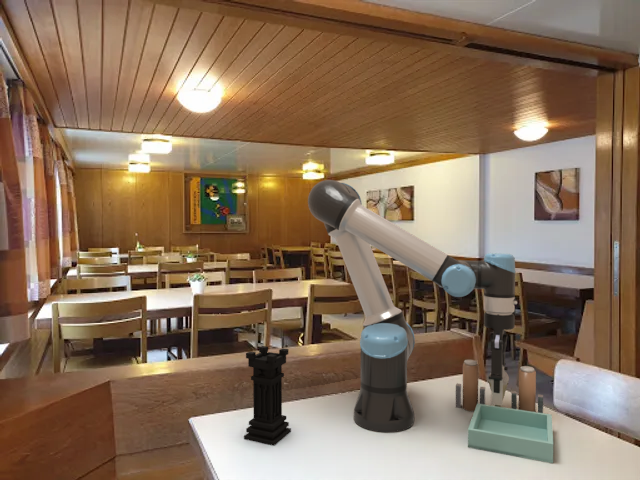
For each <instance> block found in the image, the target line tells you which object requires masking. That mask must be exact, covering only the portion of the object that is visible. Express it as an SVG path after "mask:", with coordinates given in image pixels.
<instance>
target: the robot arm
mask: <svg viewBox="0 0 640 480" xmlns="http://www.w3.org/2000/svg"><path fill="white" fill-rule="evenodd" d="M307 205H308V209H309V211H310V213H311V215H312V216H313V217H314V218H315V219H317V220H318V221H320V222H321V223H323V224H324V227H325V229H326V232H327V235H328V236H330V237H332V238H334V239H335V241H336V244H337V246H338V249H339V251H340V253H341V256H342V260H343V262H344V264H345V266H346V269H347V272H348V274H349V278H350V281H351V282H352V286H353V287H354V290H355V293H356V295H357V298H358V301H359V303H360V306H361V308H362V312H363V313H364V317H365V319H364V321H363V323H362V326H363V329H362V331H361V333H360V339H359V346H360V389H359V391H358V395H357V399H356V401H355V405H354V408H353V420H354V422H355V423H356V424H357V425H358V426H359V427H361V428H363V429H366V430H370V431H373V432H381V433H392V432H393V433H394V432H400V431H404V430H407V429H409V428H411V427H412V426H413V425H414V422H415V417H414V416H415V413H414V409H413V406H412V403H411V399H410V396H409V393H408V388H407V387H408V360H409V358H410V356H411V355H412V353H413V350H414V347H415V343H416V341H415V340H416V338H415V333H414V330H413V329H412V327H411V326H410V324H409V323H408V322H407V321H406V318H405V316H404V313H403V311H402V309H400V308H398V307H396V306H395V305H394V302H393V300H392V298H391V294H390V293H389V290H388V287H387V285H386V282H385V280H384V279H385V278H384V277H383V275H382V272H381V269H380V267H379V265H378V262H377V259H376V257H375V254H374V252H373V248H375V249H378V251H380V252H383V253H384V254H385V255H387V256H389V257H391V258H393V259H394V260H396V261H398V262H399V263H401V264H403V266H406V267H407V268H409V269H411V270H413V271H415V272H416V273H418V274H419V275H421V276H423V277H424V278H426V279H428V280H429V281H432V282H433V283H434V284H436V285H438V287H439V288H443V290H444V291H445V292H446V293H447V294H448V295H450V296H452V297H456V298H460V297H465V296H467V295H469V294H470V293H471V292H472V291H473V290H475V289H476V290H483V291H484V292H483V293H484V294H483V311H485V312H484V313H483V325H484V327H485V328H488V329H492V330H493V332H491V333H490V336H489V337H490V338H489V340H490V352H491V361H490V363H491V364H490V374H491V377H490V376H489V375H488V377H487V378H488V380H489V379H491V389H490V405H492V406H495V405H500V406H501V407H503V402H504V401H503V400H504V398H503V377H502V367H503V366H504V370H505V372H507V371H508V368H509V367H508V366H506V363H507V362H506V350H507V341H508V334H507V330H508V331H510V330H513V329H514V328H515V324H516V323H515V322H516V321H515V314H514V312H515V305H517V304H518V300H515V298H516V297H515V296H516V259H515V257H514V255H513V254H510V253H501V252H499V253H497V252H496V253H493V252H492V253H491V252H490V253H486V254H485V255H484V258H483V260H461V259H460V260H459V259H455V258H454V257H452V256H450V255H449V254H446V253H445V252H443V251H442V250H440V249H438V248H437V247H435V246H433V245H431V244H429V243H428V242H426V241H424V240H423V239H421V238H419V237H417V236H415V235H413V234H412V233H410V232H409V231H408V230H405V229H403V228H402V227H400V226H398V225H397V224H395V223H393V222H391V221H390V220H388V219H386V218H384V217H382V216H381V215H379V214H378V213H376V212H374V211H372V210H371V209H369V208H367V207H365V206H364V205H362V199H361V196H360V194H359V192H358V191H357V190H356V188H354V187H353V186H351V185H349V184H347V183H345V182H339V181H338V180H333V179H325V180H321V181H319V182H317V183H316V184H315V185H314V186H313V187H312V188H311V190H310V192H309V194H308V197H307ZM372 247H373V248H372ZM496 374H498V375H496ZM504 397H505V395H504Z"/></svg>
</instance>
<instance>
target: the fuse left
mask: <svg viewBox="0 0 640 480" xmlns="http://www.w3.org/2000/svg"><path fill="white" fill-rule="evenodd" d="M477 403H478V404H479V363H478V361H477V360H474V359H465V360H464V361H463V363H462V409H463V410H464V411H467V412H474V411H475V408H476V405H477Z"/></svg>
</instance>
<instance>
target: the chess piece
mask: <svg viewBox="0 0 640 480" xmlns="http://www.w3.org/2000/svg"><path fill="white" fill-rule="evenodd" d="M287 355H289V348H280V349H279V350H278V352H272V351H271V352H270V351H269V346H266V345H262V346H260V347H258V353H256V351H247V352H246V353H245V359H248V360H247V362H248V365H247V366H248V368H249V367H250V368H252V369H253V370H252V371H253V372H252V375H251V376H250V381H252V382H253V384H252V385H253V386H252V387H253V394H252V395H253V418H252V419H249V421H248V425H249V426H248V427H247V428H245V429H246V430H245V431H246V434H244V436H243V440H247V441H251V442H255V443H259V444H264V445H268V446H269V445H270V446H272V447H274V446H276V445H277V444H278V443H279V442H280V441H282V440H283V439H284V438H286V437H287V436H288V435H289V434H290V433H291V432H292V428H290V427H289V425H290V422H288V421H286V420H287V415H283V409H282V408H283V403H282V402H283V401H282V400H283V398H282V397H283V396H282V395H283V394H282V391H283V390H282V389H283V386H282V385H283V382H282V378H284V377H285V372H282V370H283V368H282V367H283V365H285V364H287Z"/></svg>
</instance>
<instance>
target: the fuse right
mask: <svg viewBox="0 0 640 480" xmlns="http://www.w3.org/2000/svg"><path fill="white" fill-rule="evenodd" d="M536 375H537V372H536V370H535V368H534V367H533V366H528V365H524V366H523V365H522V366H520V368H519V369H518V410H525V411H531V412H536V410H537V409H536V408H537V407H536V406H537V405H536V399H537V396H536V395H537V394H536V393H537V392H536V391H537V390H536V389H537V388H536V387H537V384H536V383H537V379H536V378H537V376H536Z"/></svg>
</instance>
